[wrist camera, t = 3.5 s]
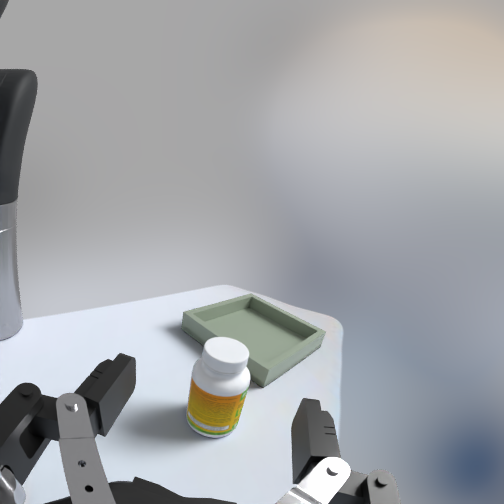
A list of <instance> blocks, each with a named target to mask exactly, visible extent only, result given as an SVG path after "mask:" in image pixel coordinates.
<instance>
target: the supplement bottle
mask: <svg viewBox="0 0 504 504" xmlns="http://www.w3.org/2000/svg"><path fill="white" fill-rule="evenodd" d="M248 358H249V351H248V349H247V347H246V346H245V345H244V344H242V343H241V342H239V341H237V340H235V339H232V338H227V337H215V338H211V339H209V340H208V341H206V343H205V344H204V349H203V353H202V357H201V358H200V359H198V360H197V361H196V363H195V364H194V366H193V370H192V376H191V383H190V390H189V397H188V404H187V412H186V418H187V421H188V423H189V425H190V426H191V428H192V429H193V430H194V431H196V432H197V433H199V434H201V435H203V436H207V437H213V438H218V437H224V436H227V435H229V434H230V433H232V432H233V431H234V430H235V428H236V426H237V424H238V421H239V417H240V414H241V411H242V407H243V404H244V400H245V397H246V394H247V390H248V387H249V383H250V372H249V370H248V368H247V367H246V365H247V362H248Z"/></svg>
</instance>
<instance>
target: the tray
mask: <svg viewBox="0 0 504 504" xmlns="http://www.w3.org/2000/svg"><path fill="white" fill-rule="evenodd" d="M181 329H182V330H183V331H185V332H186V333H187V334H188V335H190V336H191V337H192V338H194V339H195V340H196V341H198V342H199V343H200V344H201V345H203V346H204V344H205V343H206V341H208V340H209V339H211V338H215V337H227V338H232V339H235V340H237V341H239V342H241V343H242V344H244V345H245V346H246V347H247V349H248V351H249V358H248V362H247V365H246V367H247V368H248V370H249V372H250V379H251V380H252V381H253V382H255V383H256V384H258V385H259V386H261V387H263V388H264V387H265V386H267V385H268V384H270V383H271V382H273V381H274V380H276V379H277V378H278V377H280V376H281V375H283V374H284V373H286V372H287V371H288V370H290V369H291V368H293V367H294V366H295V365H297V364H298V363H300V362H301V361H302V360H304V359H305V358H306V357H308V356H309V355H310V354H312V353H313V352H314V351H316V350H317V349H318V348H320V346H321V344H322V341H323V339H324V336H325V333H326V331H324V330H322V329H320V328H318V327H315V326H313V325H311V324H309V323H307V322H306V321H304V320H302V319H300V318H298V317H296V316H294V315H292V314H290V313H288V312H286V311H284V310H282V309H280V308H278V307H276V306H274V305H272V304H270V303H268V302H266V301H265V300H263V299H261V298H259V297H257V296H255V295H253V294H248V295H244V296H240V297H237V298H233V299H230V300H226V301H222V302H219V303H215V304H211V305H208V306H204V307H200V308H196V309H193V310H189V311H185V312H183V319H182V327H181Z"/></svg>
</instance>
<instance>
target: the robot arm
mask: <svg viewBox="0 0 504 504" xmlns="http://www.w3.org/2000/svg"><path fill="white" fill-rule="evenodd" d="M8 1H9V0H0V17H1V15H2V14H3V12H4V10H5V7H6V5H7V3H8ZM36 94H37V77H36V74H35V73H34V72H33V71H31V70H26V69H0V340H3V339H6V338H9V337H11V336H13V335H14V334H16V333H17V332H18V331H19V330H20V329H21V327H22V324H23V317H22V311H21V302H20V292H19V282H18V270H17V247H16V246H17V245H16V216H17V198H18V185H19V177H20V170H21V163H22V156H23V150H24V144H25V140H26V135H27V131H28V127H29V124H30V120H31V116H32V112H33V108H34V104H35V99H36ZM135 384H136V360H135V358H134V357H131V356H128V355H125V354H122V353H120V354H118V356H117V357H116V358H115V359H114V360H113V361H112V360H109V359H107V360H105V361H103V362H101V363H100V364H99V365H98V366H97V367H96V368H95V369H94V371H92V373H91V374H90V376H88V377H87V378H86V379H85V381H84V382H83V383H82V384H81V385H80V386H79V388H78V389H77V390H76V391H75V392H74V393H66V394H63V395H61V396H60V397H59V398H54V397H50V396H46V395H42V394H41V391H40V389H39V388H38V387H37V386H36V385H34V384H32V383H22V384H19V385H18V386H17V387H16V388H15V389H14V390H13V391H12V392H11V393H10V394H9V395H8V396H7V397H6V398H5V399H4V401H3V402H2V403H1V404H0V504H24V502H25V499H26V494H25V491H24V489H23V487H22V485H23V483H24V482H25V480H26V479H27V477H28V475H29V474H30V472H31V470H32V469H33V467H34V466H35V464H36V462H37V461H38V459H39V458H40V456H41V455H42V453H43V451H44V450H45V448H46V447H47V445H48V444H49V442H50V441H51V440H55V441H59V446H60V451H61V457H62V462H63V467H64V472H65V476H66V481H67V485H68V489H69V493H70V496H69V497H66V498H62V499H59V500H56V501H52V502H49V503H45V504H237V503H234V502H228V501H222V500H217V499H212V498H188V497H182V496H180V495H178V494H176V493H174V492H172V491H170V490H168V489H166V488H164V487H162V486H160V485H159V484H155V483H152V482H149V481H146V480H143V479H141V478H138V477H134V480H133V482H129V481H116V482H110V483H108V481H107V478H106V475H105V472H104V469H103V466H102V463H101V460H100V456H99V453H98V449H97V446H96V442H95V437H96V436H97V434H100V435H102V436H104V437H105V436H106V435H107V433H108V432H109V430H110V428H111V427H112V425H113V423H114V422H115V420H116V419H117V417H118V415H119V414H120V412H121V411H122V409H123V407H124V406H125V404H126V403H127V401H128V399H129V398H130V396H131V395H132V393H133V391H134V388H135ZM291 438H292V469H293V484H298V485H297V486H296V487H295V488H292V489H291V490H290V491H289V492H288V493H286V494H285V495H284V496H283V497H282V498H281V499H280V500H279V501H278V502H277V503H275V504H401V500H400V496H399V492H398V488H397V483H396V479H395V477H394V476H393V475H392V474H391V473H390V472H388V471H385V470H374V471H372V472H371V473H370V474H369V475H367V474H362V473H358V472H355V471H352V470H350V468H349V466H348V465H347V463H346V462H345V461H343V460H341V456H340V451H339V445H338V440H337V435H336V430H335V425H334V420H333V418H332V417H331V415H330V414H329V412H328V411H321V406H320V401H319V400H315V399H307V398H303V399H302V401H301V403H300V406H299V408H298V410H297V413H296V415H295V417H294V419H293V423H292V428H291Z"/></svg>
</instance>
